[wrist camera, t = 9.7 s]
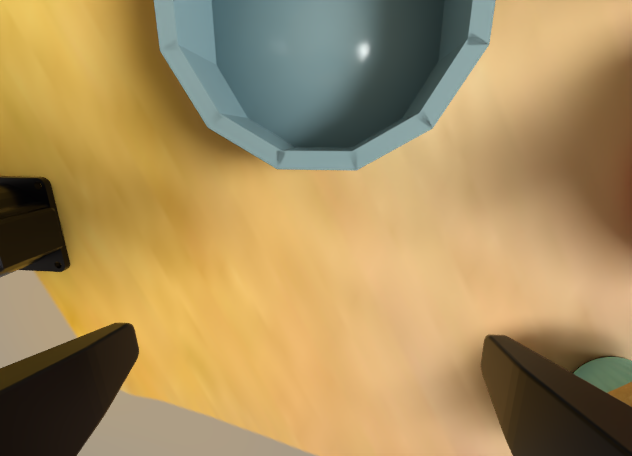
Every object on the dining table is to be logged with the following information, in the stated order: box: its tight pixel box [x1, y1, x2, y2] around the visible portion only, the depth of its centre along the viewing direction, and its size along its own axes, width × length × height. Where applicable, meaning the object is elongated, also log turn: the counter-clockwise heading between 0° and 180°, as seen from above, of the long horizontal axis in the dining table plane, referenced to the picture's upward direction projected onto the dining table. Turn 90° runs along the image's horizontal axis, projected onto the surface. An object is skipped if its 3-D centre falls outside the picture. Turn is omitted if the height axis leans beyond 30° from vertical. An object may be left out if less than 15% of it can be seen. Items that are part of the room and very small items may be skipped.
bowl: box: [154, 0, 496, 170], centre depth 14 cm, size 13×13×5 cm
